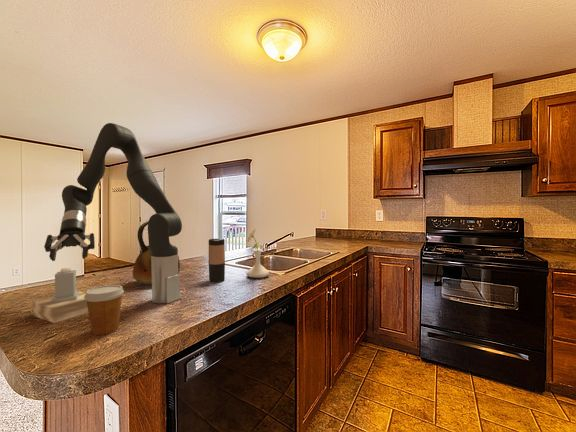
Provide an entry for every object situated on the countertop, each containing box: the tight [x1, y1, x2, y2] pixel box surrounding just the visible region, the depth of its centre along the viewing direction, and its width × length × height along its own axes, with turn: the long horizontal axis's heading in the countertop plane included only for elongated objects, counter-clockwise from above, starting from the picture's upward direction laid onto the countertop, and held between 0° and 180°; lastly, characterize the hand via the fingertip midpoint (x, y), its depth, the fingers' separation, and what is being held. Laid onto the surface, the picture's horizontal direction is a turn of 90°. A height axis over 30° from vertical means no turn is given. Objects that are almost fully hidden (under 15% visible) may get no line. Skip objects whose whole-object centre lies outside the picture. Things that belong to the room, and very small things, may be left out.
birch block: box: [32, 290, 89, 324], centre depth 92 cm, size 13×13×5 cm
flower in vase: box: [246, 228, 270, 279], centre depth 138 cm, size 13×11×25 cm
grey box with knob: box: [52, 267, 79, 303], centre depth 92 cm, size 6×6×10 cm
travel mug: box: [208, 238, 226, 284], centre depth 132 cm, size 8×8×20 cm
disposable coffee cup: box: [84, 284, 125, 336], centre depth 79 cm, size 10×10×12 cm
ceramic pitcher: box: [132, 220, 181, 285], centre depth 129 cm, size 20×20×30 cm
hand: (68, 258), depth 96 cm, fingers open, 8 cm apart
